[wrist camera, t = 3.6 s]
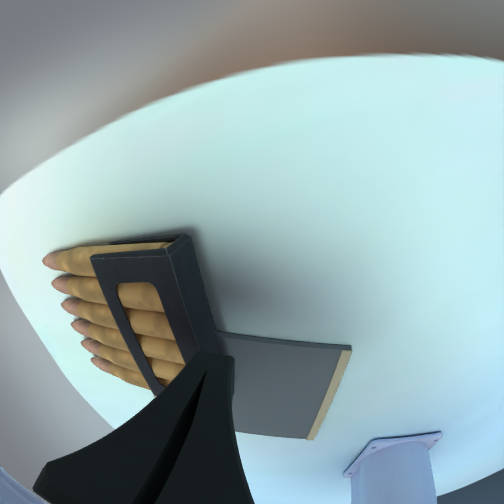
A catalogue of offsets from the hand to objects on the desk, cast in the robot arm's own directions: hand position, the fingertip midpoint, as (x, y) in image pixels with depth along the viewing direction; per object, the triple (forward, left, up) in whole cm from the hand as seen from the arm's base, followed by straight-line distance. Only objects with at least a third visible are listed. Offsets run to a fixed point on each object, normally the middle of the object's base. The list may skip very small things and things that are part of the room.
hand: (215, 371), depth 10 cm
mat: (-8, 0, -5) cm, 10 cm away
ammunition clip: (-2, +1, -3) cm, 4 cm away
